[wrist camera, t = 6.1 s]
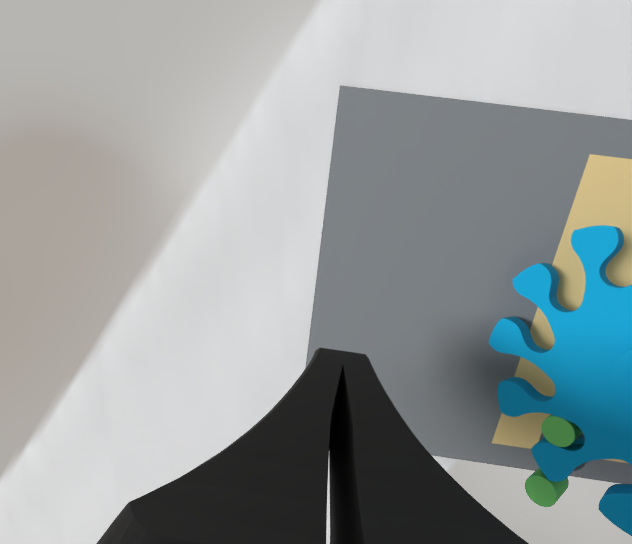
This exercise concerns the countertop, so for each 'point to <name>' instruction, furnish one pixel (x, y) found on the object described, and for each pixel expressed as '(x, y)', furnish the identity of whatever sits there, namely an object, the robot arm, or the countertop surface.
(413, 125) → the mat
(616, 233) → the gear
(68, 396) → the countertop surface
